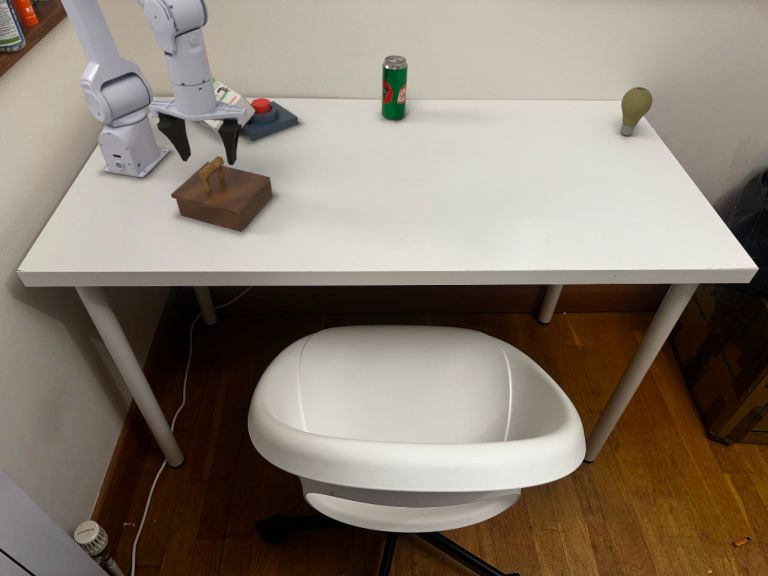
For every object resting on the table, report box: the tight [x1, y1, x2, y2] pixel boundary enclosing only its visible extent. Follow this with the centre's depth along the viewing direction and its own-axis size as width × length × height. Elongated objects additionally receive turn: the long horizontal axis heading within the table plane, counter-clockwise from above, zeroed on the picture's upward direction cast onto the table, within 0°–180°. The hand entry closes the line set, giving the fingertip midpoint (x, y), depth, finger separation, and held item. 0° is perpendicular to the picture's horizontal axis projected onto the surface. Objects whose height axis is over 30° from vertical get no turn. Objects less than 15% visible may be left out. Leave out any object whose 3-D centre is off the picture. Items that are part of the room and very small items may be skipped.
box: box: [240, 100, 299, 142], centre depth 116 cm, size 11×9×4 cm
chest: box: [175, 180, 274, 233], centre depth 95 cm, size 12×11×3 cm
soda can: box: [381, 54, 409, 121], centre depth 116 cm, size 5×5×12 cm
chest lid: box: [170, 155, 271, 215], centre depth 93 cm, size 12×11×5 cm
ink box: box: [197, 77, 255, 137], centre depth 113 cm, size 8×5×12 cm
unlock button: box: [251, 97, 271, 114], centre depth 114 cm, size 4×4×2 cm
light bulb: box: [620, 86, 653, 137], centre depth 113 cm, size 6×6×10 cm
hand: (209, 160), depth 91 cm, fingers open, 7 cm apart
